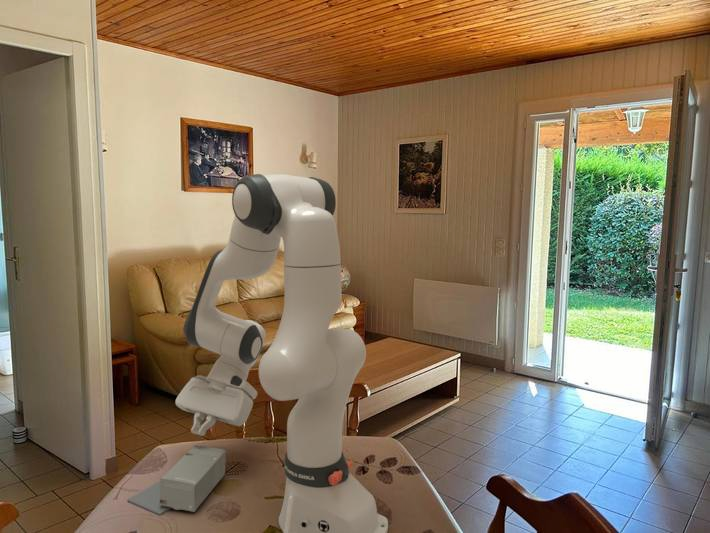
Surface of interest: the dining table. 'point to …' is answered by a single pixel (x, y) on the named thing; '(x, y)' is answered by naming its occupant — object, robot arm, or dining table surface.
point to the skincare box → (192, 478)
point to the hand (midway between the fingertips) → (196, 433)
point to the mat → (150, 499)
